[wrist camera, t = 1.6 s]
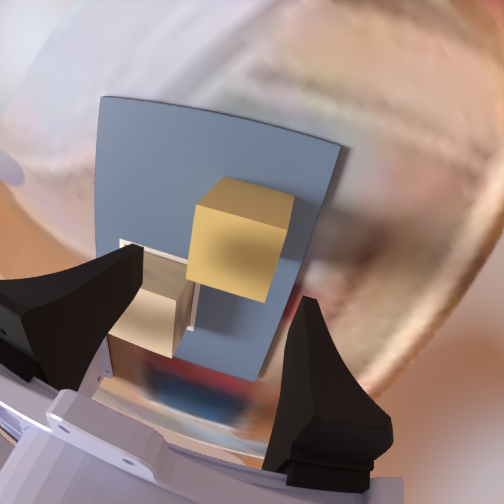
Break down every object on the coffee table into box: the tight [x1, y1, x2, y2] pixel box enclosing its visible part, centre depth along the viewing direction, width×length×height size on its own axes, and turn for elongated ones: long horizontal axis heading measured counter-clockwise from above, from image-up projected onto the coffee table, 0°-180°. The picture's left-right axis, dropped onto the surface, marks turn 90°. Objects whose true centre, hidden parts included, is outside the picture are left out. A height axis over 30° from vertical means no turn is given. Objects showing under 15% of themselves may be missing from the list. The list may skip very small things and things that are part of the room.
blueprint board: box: [95, 96, 341, 382], centre depth 23 cm, size 22×16×1 cm
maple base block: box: [108, 245, 194, 358], centre depth 23 cm, size 6×6×4 cm
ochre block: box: [186, 176, 295, 303], centre depth 18 cm, size 4×4×5 cm
